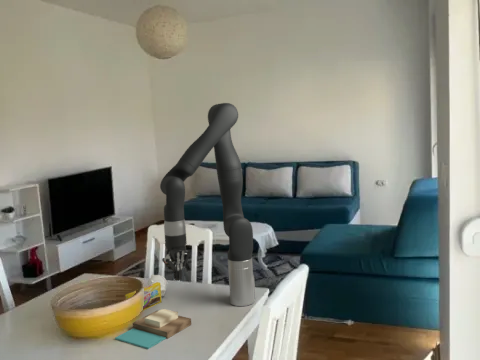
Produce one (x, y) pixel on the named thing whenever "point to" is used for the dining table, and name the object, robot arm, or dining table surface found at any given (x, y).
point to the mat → (140, 338)
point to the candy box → (149, 295)
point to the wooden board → (165, 330)
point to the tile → (161, 318)
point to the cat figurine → (161, 280)
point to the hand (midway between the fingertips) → (178, 279)
